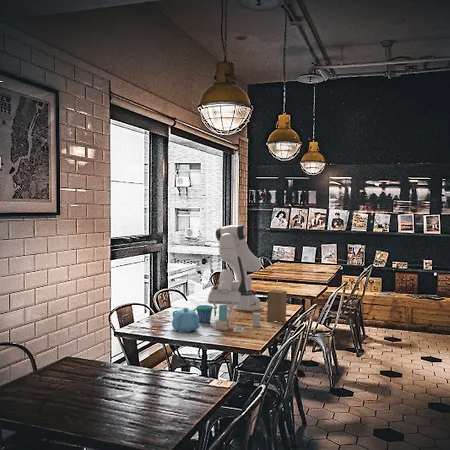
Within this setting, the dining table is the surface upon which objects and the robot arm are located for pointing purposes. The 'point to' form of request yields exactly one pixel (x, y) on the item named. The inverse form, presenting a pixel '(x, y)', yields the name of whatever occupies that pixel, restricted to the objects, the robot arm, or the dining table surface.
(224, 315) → the teal block
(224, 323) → the maple block
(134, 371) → the dining table surface
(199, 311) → the snack cup
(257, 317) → the grey block
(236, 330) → the tile
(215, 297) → the robot arm
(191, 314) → the decorative pot
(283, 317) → the wooden block
